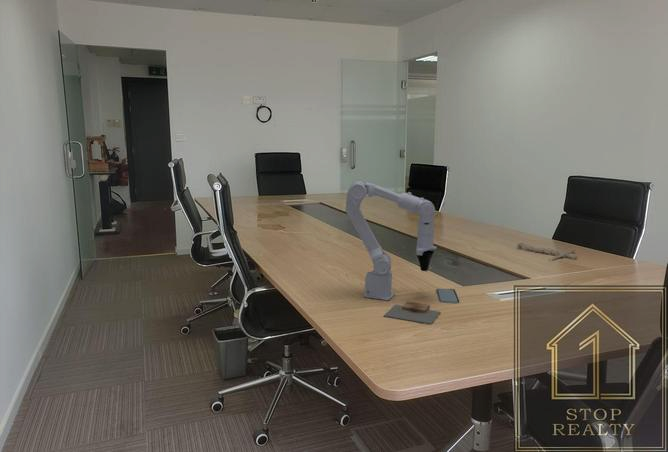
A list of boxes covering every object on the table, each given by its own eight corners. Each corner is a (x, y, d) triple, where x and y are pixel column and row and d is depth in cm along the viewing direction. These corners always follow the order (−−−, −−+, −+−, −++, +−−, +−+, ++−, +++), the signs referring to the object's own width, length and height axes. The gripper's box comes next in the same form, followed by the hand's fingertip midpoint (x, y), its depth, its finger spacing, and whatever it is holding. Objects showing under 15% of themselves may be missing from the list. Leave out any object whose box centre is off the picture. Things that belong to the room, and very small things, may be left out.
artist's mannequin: (505, 254, 257) (562, 267, 234) (505, 246, 256) (563, 259, 233) (532, 245, 274) (588, 257, 252) (533, 237, 273) (589, 249, 251)
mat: (383, 316, 164) (383, 315, 164) (395, 305, 175) (395, 304, 175) (431, 324, 158) (431, 323, 158) (440, 312, 168) (440, 311, 168)
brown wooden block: (407, 305, 174) (401, 310, 169) (407, 301, 174) (402, 306, 169) (429, 309, 171) (425, 314, 165) (429, 304, 170) (425, 310, 165)
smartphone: (439, 302, 179) (435, 288, 193) (439, 304, 179) (435, 290, 193) (460, 302, 178) (455, 289, 192) (460, 305, 178) (454, 291, 193)
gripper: (430, 238, 171) (429, 276, 174) (441, 231, 184) (440, 267, 186) (410, 236, 174) (409, 274, 177) (423, 229, 187) (421, 265, 190)
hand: (424, 270), depth 182 cm, fingers closed
